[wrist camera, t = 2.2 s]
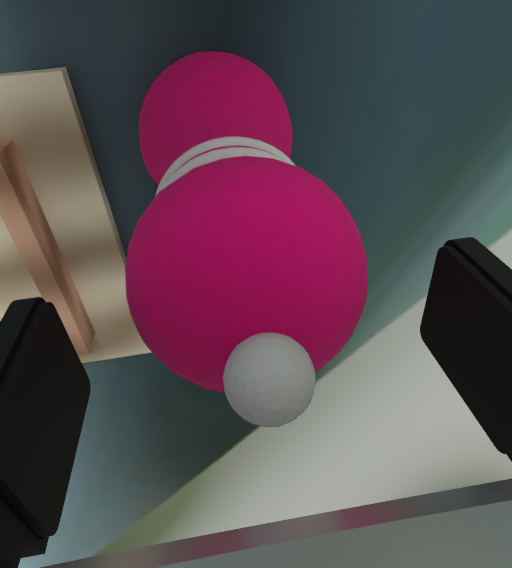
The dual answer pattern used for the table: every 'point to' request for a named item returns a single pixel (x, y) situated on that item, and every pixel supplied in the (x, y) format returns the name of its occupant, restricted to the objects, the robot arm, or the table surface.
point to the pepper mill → (239, 243)
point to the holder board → (59, 217)
